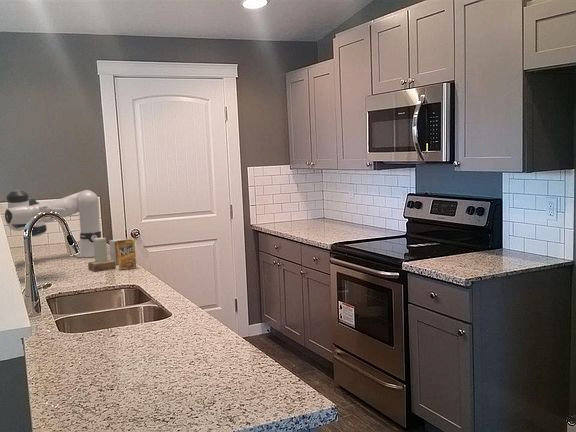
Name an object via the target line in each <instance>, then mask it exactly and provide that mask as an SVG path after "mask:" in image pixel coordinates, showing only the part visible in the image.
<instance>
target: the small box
mask: <svg viewBox="0 0 576 432" xmlns="http://www.w3.org/2000/svg"><path fill="white" fill-rule="evenodd" d="M122 239H123V238H118V239H111V240H108V241H109V254H110V260H112V261H114V262H115V264H116V265H118V266H119V263H118V250H117V240H122Z"/></svg>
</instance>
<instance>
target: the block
mask: <svg viewBox="0 0 576 432" xmlns="http://www.w3.org/2000/svg"><path fill="white" fill-rule="evenodd" d="M93 241H94V253H95V257H94V261H95V262H98V263H99V262H106V261H108V260H107V259H108V253H107V251H108V250H107V249H108V248H107V238H106V237H101V238H95V239H93Z"/></svg>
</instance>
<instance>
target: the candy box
mask: <svg viewBox="0 0 576 432" xmlns="http://www.w3.org/2000/svg"><path fill="white" fill-rule="evenodd" d="M121 239H122V240H117V250H118V263H119V264H118V270H119V271H120V270H130V269H137V256H136V243H135V238H121Z"/></svg>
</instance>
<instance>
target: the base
mask: <svg viewBox="0 0 576 432" xmlns="http://www.w3.org/2000/svg"><path fill="white" fill-rule="evenodd" d="M107 260H108V261H106V262H99V263H98V262H95V260H91V261H89V262H88V263H87V268H88V270H89V271H92V272H95V273H97V272H103V271H108V270H116V269H117V268H116V267H117V266H116V264H115V262H114V261H112V260H111V259H109V258H107Z"/></svg>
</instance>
